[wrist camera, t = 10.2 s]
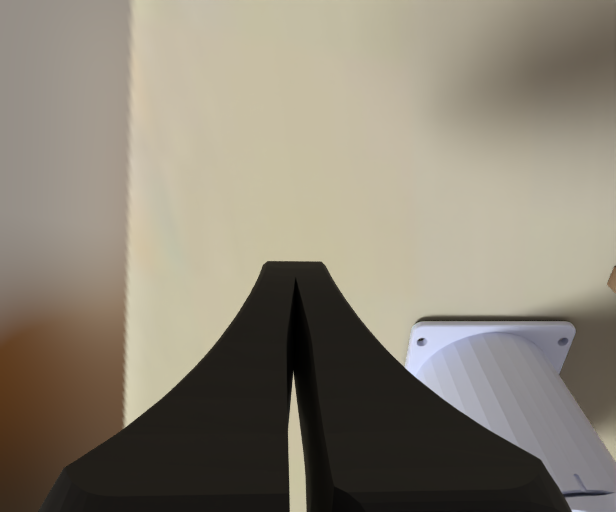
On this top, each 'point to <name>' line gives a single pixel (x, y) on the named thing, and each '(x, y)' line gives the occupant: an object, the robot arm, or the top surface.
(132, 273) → the top surface
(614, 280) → the walnut bracket
